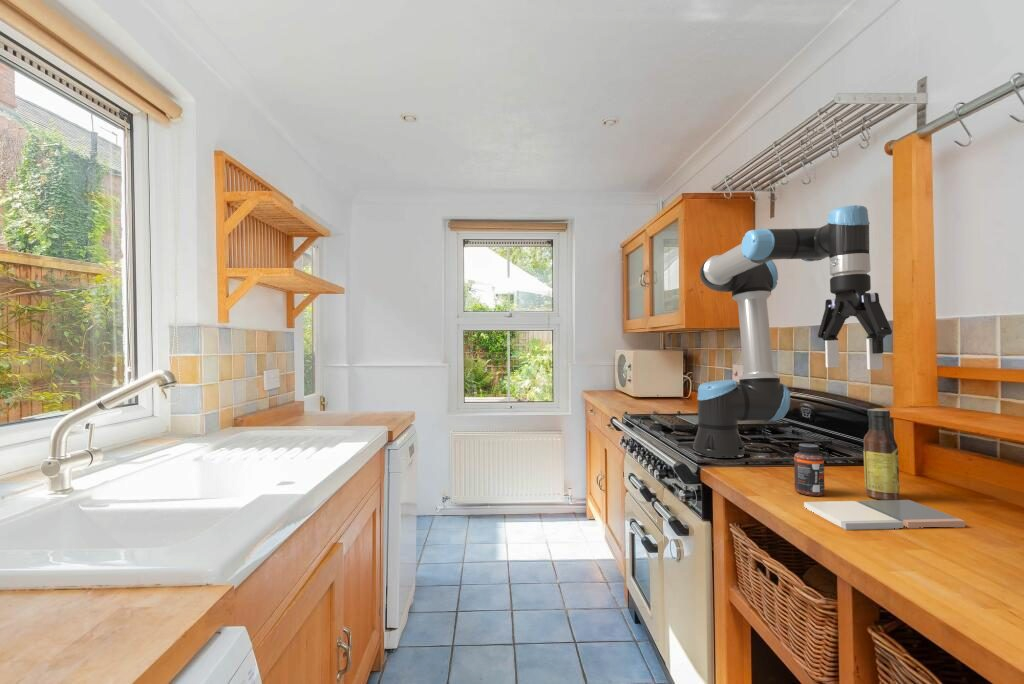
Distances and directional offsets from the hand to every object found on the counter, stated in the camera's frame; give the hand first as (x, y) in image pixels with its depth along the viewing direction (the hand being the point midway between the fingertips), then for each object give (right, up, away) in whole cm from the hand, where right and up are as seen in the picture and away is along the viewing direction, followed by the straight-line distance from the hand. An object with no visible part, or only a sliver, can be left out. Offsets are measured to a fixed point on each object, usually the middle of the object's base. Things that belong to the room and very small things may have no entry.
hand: (852, 368), depth 107 cm
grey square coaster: (+3, -29, -11) cm, 31 cm away
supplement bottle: (-8, -30, +4) cm, 31 cm away
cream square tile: (-9, -29, -12) cm, 33 cm away
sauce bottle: (+7, -30, 0) cm, 30 cm away
